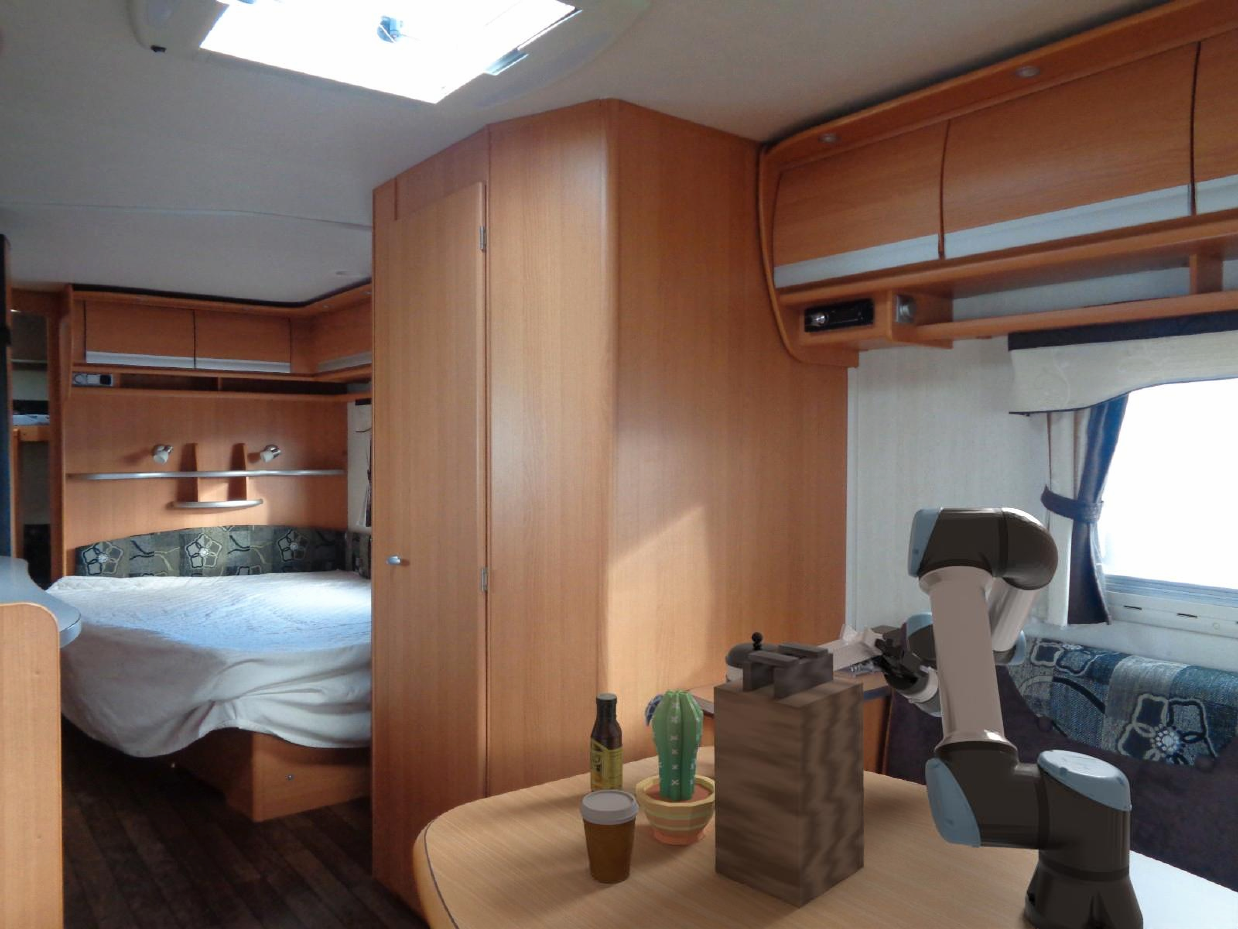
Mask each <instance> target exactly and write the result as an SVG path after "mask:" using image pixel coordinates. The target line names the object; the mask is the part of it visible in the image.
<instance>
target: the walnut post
mask: <svg viewBox="0 0 1238 929" xmlns="http://www.w3.org/2000/svg"><path fill="white" fill-rule="evenodd" d="M802 656H807V658H804V659H802ZM713 738H714V739H713V744H714V745H713V748H714V749H713V753H714V756H713V757H714V759H713V760H714V762H713V763H714V765H713V766H714V781H715V810H714V831H715V832H714V838H715V839H714V848H715V849H714V850H715V852H714V853H715V854H714V858H715V859H714V860H715V873H716V874H718V875H720V876H723V877H726V878H727V879H730V880H733V881H734V882H737V883H739V884H741V885H745V886H747V887H748V888H751V889H753V890H756V891H759V892H761V893H763V894H766V895H768V896H770V897H772V898H775V899H778V900H780V901H782V902H784V903H786V904H789V905H791V906H793V907H796V908H802V907H803V906H805V905H806V904H808V903H810V902H811V901H812V900H814V899H815V898H817V897H819V896H821V895H822V894H823V893H825V892H827V891H828V890H829V889H831V888H833V887H834V886H836V885H837V884H839V883H841V882H842V881H843V880H845V879H847V878H848V877H851V875H853V874H855V873H856V872H857V871H860V870H861V869H862V868H864V866H865V858H864V857H865V854H864V853H865V852H864V851H865V848H864V847H865V835H864V834H865V833H864V831H865V827H864V826H865V825H864V824H865V823H864V820H865V819H864V818H865V816H864V814H865V812H864V807H865V804H864V803H865V801H864V799H865V798H864V791H865V790H864V785H865V784H864V782H865V780H864V770H865V769H864V763H865V762H864V682H863V681H859V680H858V681H857V680H853V679H849V678H845V677H840V676H839V677H838V676H834V671H833V653H829V652H828V649H826V648H821V647H817V646H814V645H811V644H810V645H809V644H805V643H798V642H793V641H792V642H791V641H787V642H782V643H780V644H778V651H776V652H773V653H771V652H766V651H761V650H759V651H756V652H753V653H749V654H748V660H747V661H744V662H743V677H742V678H739V679H736V680H733V681H730V682H727V683H726V682H724V683H722V684H718V685H715V686H713Z"/></svg>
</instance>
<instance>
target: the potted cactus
mask: <svg viewBox="0 0 1238 929" xmlns="http://www.w3.org/2000/svg"><path fill="white" fill-rule="evenodd" d="M644 717H645V726H646V727H647V728H648V727H649V725H650V723H651V727H652V740H653V742H654V745H655V749H656V752H657V759H658V774H657V775H652V776H648V777H645V778H644V779H643V780H641V781H640V782H638V783H637V784H635V795H636V797H635V798H636V802H637V804H639V805H641V806H642V808H643V812H644V815H645V818H646V820H647V821H648V823H649V824H650V825H651V826H652V828H653V837H654V838H655V839H656V840H658V841H659V842H661V843H664V844H669V845H671V846H672V845H673V846H686V845H687V846H688V845H690V844H695V843H698V842H700V841H701V840H702V839H703V838H705V832H704V829H705V828H707V825H708V824H709V823H710V822H711V820H712V819H713V816H714V814H715V780H714V779H712V778H710V777H707V776H704V775H700V774H696V773H697V772H696V771H697V770H696V769H697V768H696V767H697V757H698V756H697V755H698V751H699V747H700V744H701V740H702V738H703V727H704V723H703V722H704V711H703V710H702V709H701V706H700V705H699V703H698V702H697V701H696V699H695V698H694V697H693V695H692V694H691V692H690V690H685V691H683V690H682V688H677V689H676V690H675V691H674V690H672V689H667V691H665V693H660V694H657V695H655V696H654V697H653V698H651V699H650V701H649V702H648V703H647V706H645V709H644Z"/></svg>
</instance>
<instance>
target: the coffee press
mask: <svg viewBox="0 0 1238 929" xmlns="http://www.w3.org/2000/svg"><path fill="white" fill-rule="evenodd" d="M750 638H751V640H752V641H747V642H745V641H744V642H741V643H738V644H735V645H733V646H732V647H731V648H730V649H729V650H728V652H727V654H726V655H725V657H724V662H725V664H726V675H725V683H727V682H730V681H733V680H736V679H739V678H742V677H743V662H744V661H747V660H748V654H749V653H753V652H756V651H759V650H761V651H766V652H771V653H773V652H776V651H778V645H779V644H778V645H777V644H776V643H775V644H774V643H771V642H764V641H763V639H764V637H763V635H762V633H761V632H759V631H755V632H753V634H752V635H751V637H750Z"/></svg>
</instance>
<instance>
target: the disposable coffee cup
mask: <svg viewBox="0 0 1238 929" xmlns="http://www.w3.org/2000/svg"><path fill="white" fill-rule="evenodd" d="M639 805H640V804H639V803H638V801H637V797H635V795H634V794H632V793H630V792H627V791H625V790H622V791H620V790H600V791H596V792H592V793H591V792H589V793H588V794H586V795H585V796H584V797H583V798H582V801H581V804H580V805H579V813H580V814H581V815H580V816H581V817H582V822H583V828H584V835H585V842H586V850H587V856H588V865H589V866H588V867H589V872H590V876H592V877H593V878H594V879H593V878H592V877H591V878H592V879H593V880H595V881H596V880H597V882H599V881H600V883H606V884H615V883H619V882H622V881H625V880H627V879H628V878H629V877H630V876H631V874H630V873H631V865H632V856H633V850H634V849H633V848H634V838H635V829H636V820H637V815H638V812H639V811H640V806H639Z"/></svg>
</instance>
